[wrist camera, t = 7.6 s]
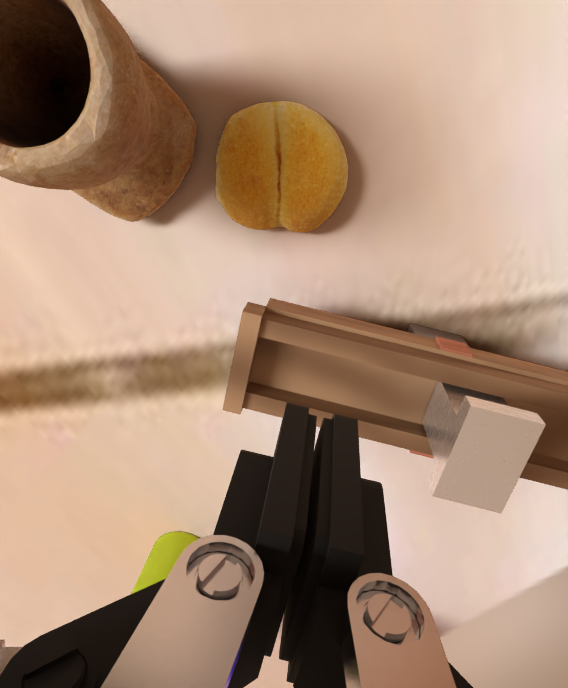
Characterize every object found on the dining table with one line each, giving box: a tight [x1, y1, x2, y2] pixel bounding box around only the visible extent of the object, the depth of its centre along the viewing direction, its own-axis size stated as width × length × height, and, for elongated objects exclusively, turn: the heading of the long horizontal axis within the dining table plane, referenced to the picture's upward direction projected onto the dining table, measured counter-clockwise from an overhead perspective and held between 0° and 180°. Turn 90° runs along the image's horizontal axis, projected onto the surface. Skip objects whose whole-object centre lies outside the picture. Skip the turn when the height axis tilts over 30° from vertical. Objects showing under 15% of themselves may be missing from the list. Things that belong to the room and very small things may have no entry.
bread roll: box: [215, 101, 348, 232], centre depth 32 cm, size 8×9×4 cm
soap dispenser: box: [131, 532, 199, 594], centre depth 38 cm, size 6×7×20 cm
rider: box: [422, 381, 546, 513], centre depth 29 cm, size 6×4×6 cm, turn 167°
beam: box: [223, 298, 568, 489], centre depth 34 cm, size 7×27×8 cm, turn 77°
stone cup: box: [0, 0, 197, 222], centre depth 26 cm, size 15×12×15 cm
